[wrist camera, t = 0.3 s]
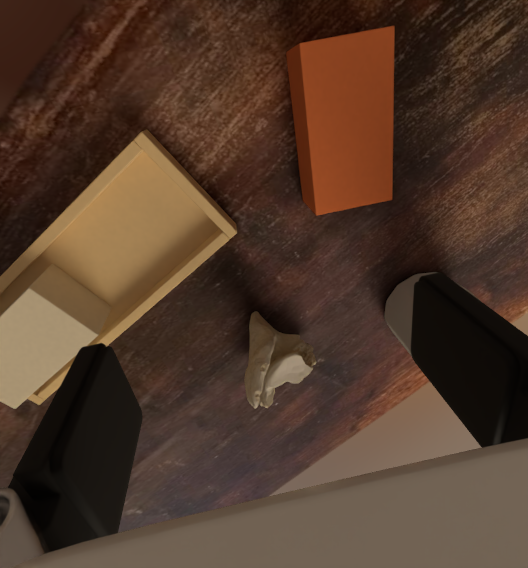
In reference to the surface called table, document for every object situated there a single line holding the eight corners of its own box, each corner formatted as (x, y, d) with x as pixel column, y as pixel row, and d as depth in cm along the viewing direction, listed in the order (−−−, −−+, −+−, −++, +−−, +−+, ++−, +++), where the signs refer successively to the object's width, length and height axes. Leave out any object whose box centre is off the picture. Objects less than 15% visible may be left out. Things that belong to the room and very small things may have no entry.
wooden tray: (146, 128, 24) (141, 131, 22) (236, 223, 28) (238, 232, 26) (-51, 331, 29) (-69, 347, 27) (48, 388, 33) (39, 405, 31)
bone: (318, 386, 35) (283, 465, 26) (259, 368, 37) (210, 436, 29) (327, 310, 31) (290, 372, 23) (262, 295, 34) (207, 348, 25)
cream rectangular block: (52, 263, 27) (28, 287, 23) (112, 306, 29) (98, 335, 25) (-25, 339, 29) (-58, 372, 25) (37, 374, 31) (15, 409, 28)
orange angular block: (285, 51, 23) (299, 43, 19) (366, 36, 23) (394, 25, 19) (302, 201, 28) (315, 215, 24) (369, 187, 28) (392, 200, 24)
